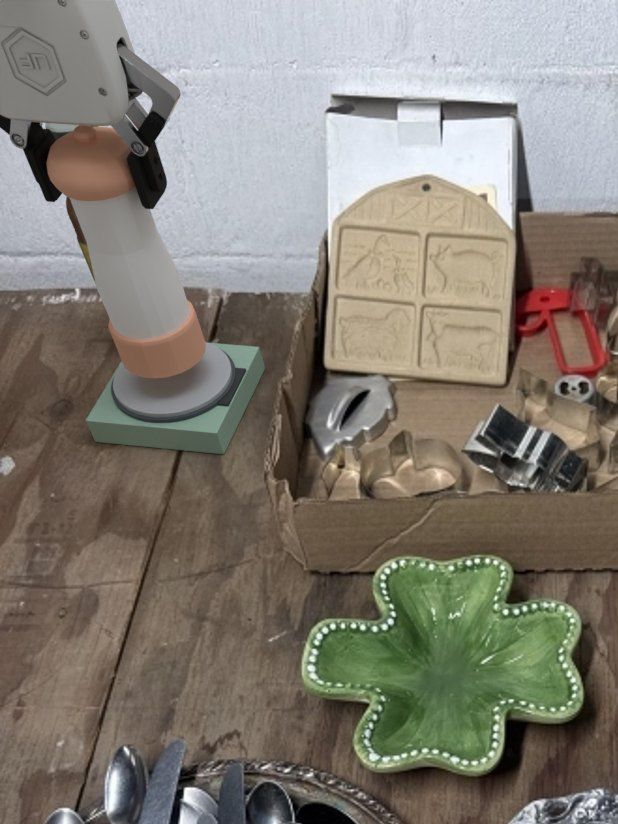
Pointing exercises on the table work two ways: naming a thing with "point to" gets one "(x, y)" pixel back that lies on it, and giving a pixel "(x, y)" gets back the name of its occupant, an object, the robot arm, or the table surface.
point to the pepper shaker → (126, 255)
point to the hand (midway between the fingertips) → (106, 194)
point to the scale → (180, 403)
